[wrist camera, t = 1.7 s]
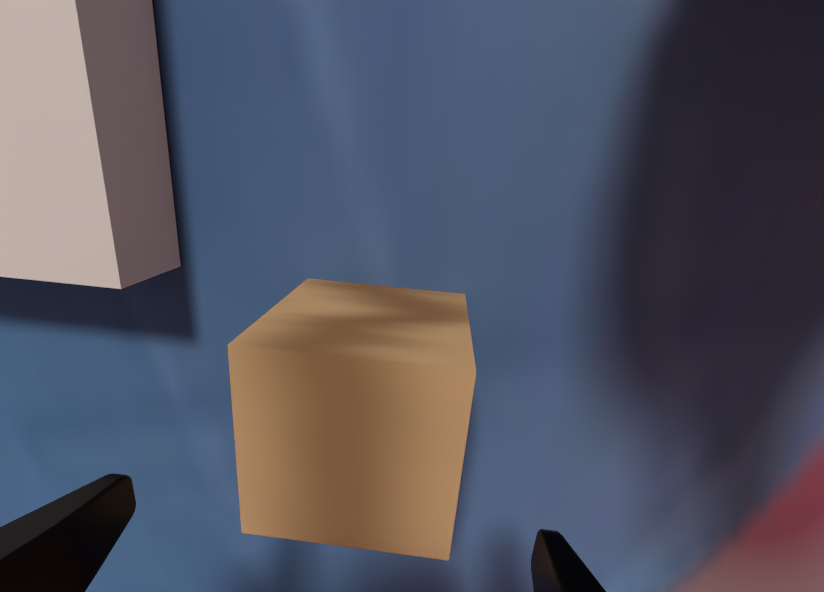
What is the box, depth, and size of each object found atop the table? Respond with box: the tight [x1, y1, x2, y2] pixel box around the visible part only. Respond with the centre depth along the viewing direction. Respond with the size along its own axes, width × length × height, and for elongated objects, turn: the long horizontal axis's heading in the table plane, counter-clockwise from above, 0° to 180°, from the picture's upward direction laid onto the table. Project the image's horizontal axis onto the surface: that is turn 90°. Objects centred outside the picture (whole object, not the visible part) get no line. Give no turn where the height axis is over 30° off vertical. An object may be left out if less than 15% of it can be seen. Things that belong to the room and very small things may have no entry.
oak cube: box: [228, 279, 476, 560], centre depth 13 cm, size 6×6×6 cm
